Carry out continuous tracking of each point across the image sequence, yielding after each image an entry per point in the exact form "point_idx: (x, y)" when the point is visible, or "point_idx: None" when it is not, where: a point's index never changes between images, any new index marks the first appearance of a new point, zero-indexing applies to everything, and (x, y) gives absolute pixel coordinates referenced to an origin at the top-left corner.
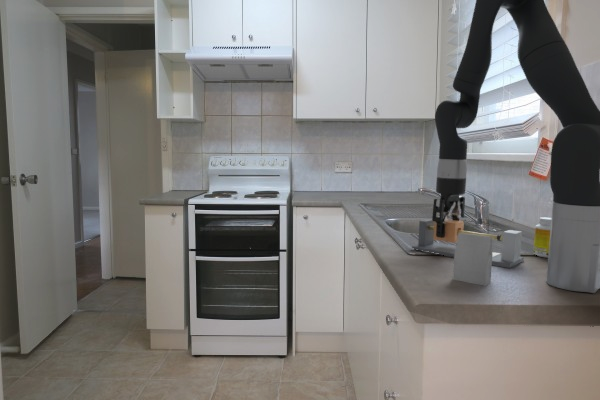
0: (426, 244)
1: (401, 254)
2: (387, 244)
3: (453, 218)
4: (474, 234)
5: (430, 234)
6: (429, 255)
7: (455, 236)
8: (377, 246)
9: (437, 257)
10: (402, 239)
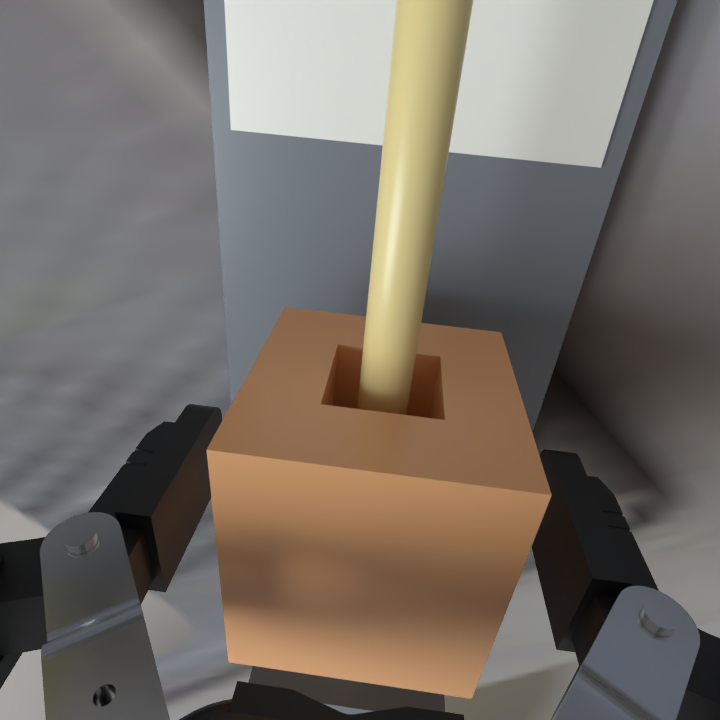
0: None
1: (674, 546)
2: None
3: (138, 595)
4: (448, 140)
5: None
6: (601, 417)
7: (489, 366)
8: (522, 667)
9: (643, 355)
10: None
